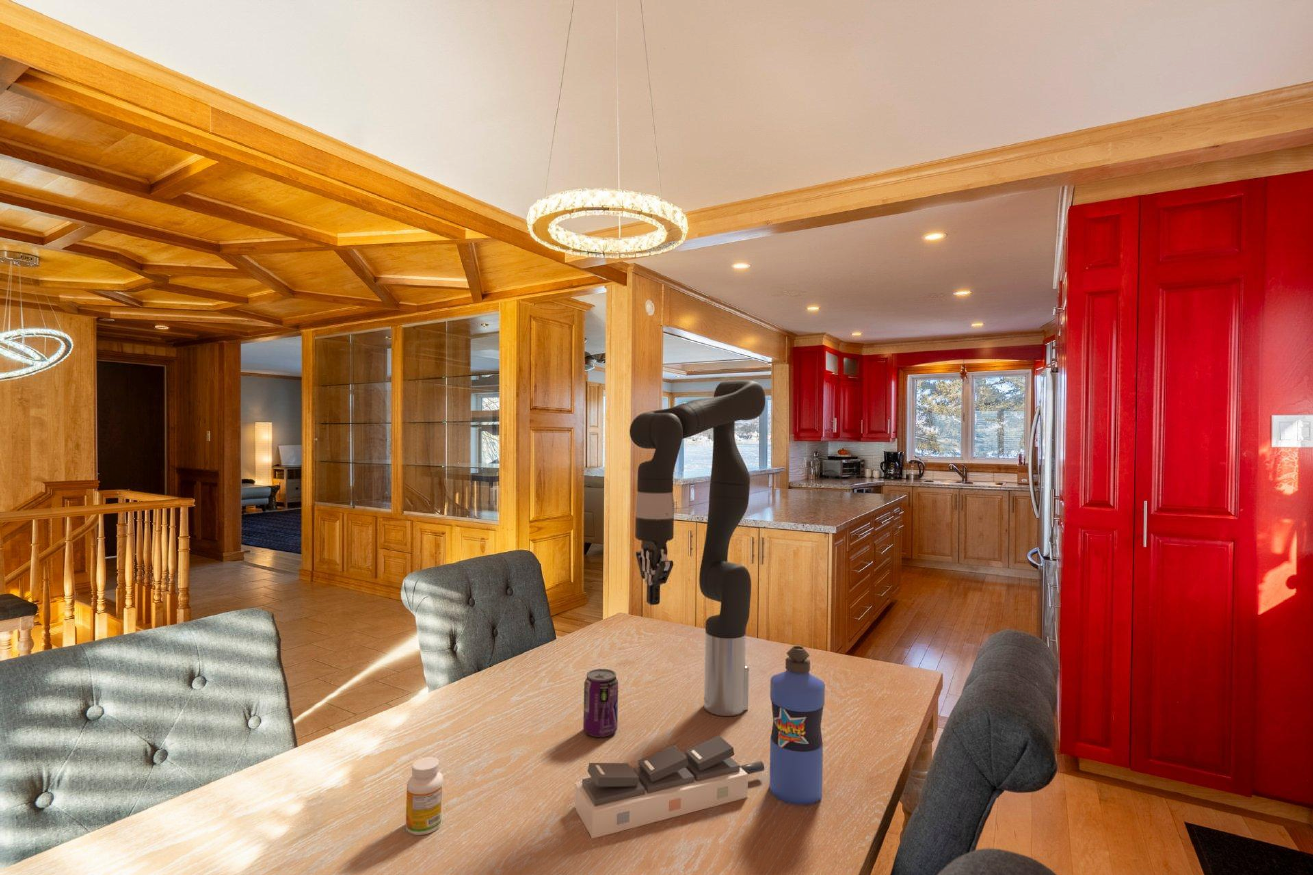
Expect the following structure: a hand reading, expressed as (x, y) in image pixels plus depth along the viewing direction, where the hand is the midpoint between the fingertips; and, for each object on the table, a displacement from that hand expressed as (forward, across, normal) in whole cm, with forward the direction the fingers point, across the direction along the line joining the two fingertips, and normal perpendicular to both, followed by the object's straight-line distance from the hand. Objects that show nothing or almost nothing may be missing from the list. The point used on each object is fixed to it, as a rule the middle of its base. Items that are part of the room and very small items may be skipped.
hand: (653, 603), depth 122 cm
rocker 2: (+22, -16, +5) cm, 28 cm away
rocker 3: (+22, -16, -4) cm, 28 cm away
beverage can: (+29, +12, +6) cm, 32 cm away
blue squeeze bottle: (+29, -22, -18) cm, 41 cm away
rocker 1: (+22, -16, +14) cm, 31 cm away
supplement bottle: (+29, -7, +42) cm, 52 cm away
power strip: (+29, -16, +2) cm, 33 cm away
